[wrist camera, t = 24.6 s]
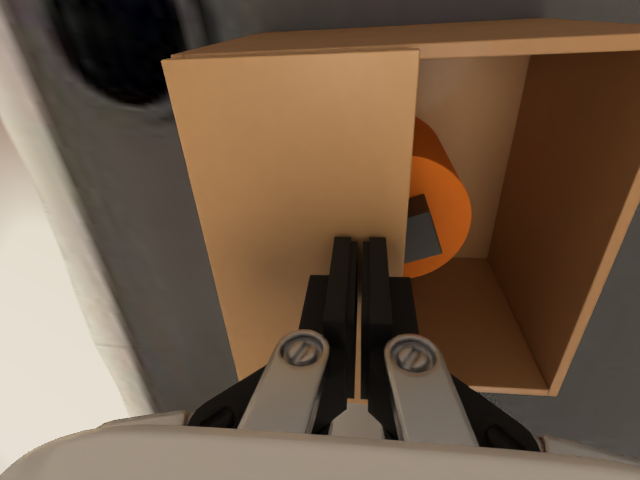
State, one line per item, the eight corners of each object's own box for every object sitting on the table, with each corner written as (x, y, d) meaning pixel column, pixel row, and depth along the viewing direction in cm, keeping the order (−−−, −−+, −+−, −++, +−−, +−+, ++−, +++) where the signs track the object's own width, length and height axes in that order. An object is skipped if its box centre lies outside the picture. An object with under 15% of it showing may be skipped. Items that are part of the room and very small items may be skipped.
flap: (392, 400, 16) (392, 407, 16) (243, 385, 18) (241, 391, 17) (419, 48, 9) (420, 49, 9) (166, 58, 10) (160, 59, 10)
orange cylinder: (454, 193, 23) (495, 282, 15) (358, 223, 24) (354, 316, 17) (427, 94, 20) (462, 145, 13) (322, 135, 22) (299, 201, 14)
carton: (490, 259, 25) (557, 396, 16) (285, 255, 27) (244, 379, 18) (544, 17, 18) (713, 29, 9) (258, 32, 20) (169, 54, 11)
